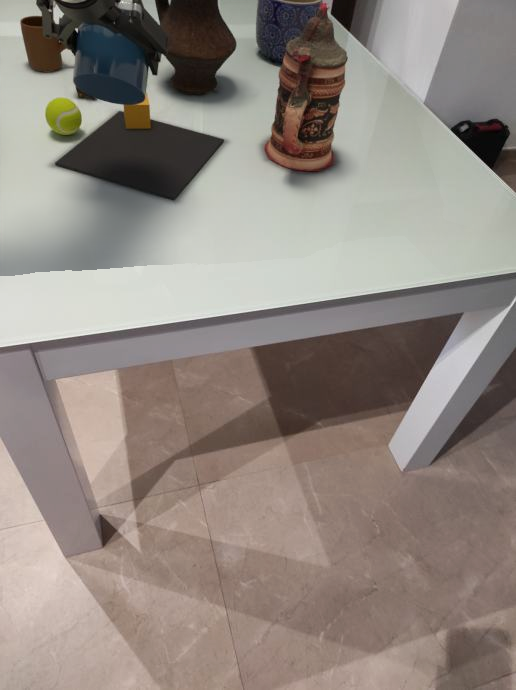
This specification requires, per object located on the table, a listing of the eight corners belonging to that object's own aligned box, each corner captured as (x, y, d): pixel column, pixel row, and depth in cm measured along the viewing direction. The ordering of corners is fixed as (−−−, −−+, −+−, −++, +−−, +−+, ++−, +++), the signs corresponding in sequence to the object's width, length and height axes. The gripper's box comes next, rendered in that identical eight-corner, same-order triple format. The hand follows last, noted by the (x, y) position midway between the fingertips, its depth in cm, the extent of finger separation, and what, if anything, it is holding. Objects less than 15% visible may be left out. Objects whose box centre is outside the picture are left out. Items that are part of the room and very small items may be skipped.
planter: (321, 54, 144) (332, -7, 133) (299, 73, 134) (309, 8, 122) (268, 39, 147) (274, -22, 136) (242, 57, 137) (247, -8, 126)
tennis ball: (78, 122, 105) (73, 89, 100) (88, 138, 102) (83, 104, 97) (45, 127, 103) (37, 93, 98) (54, 143, 99) (47, 109, 94)
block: (126, 129, 105) (123, 104, 101) (124, 117, 108) (122, 93, 104) (150, 128, 106) (149, 104, 102) (148, 117, 109) (147, 93, 105)
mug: (83, 61, 125) (76, 17, 118) (81, 74, 120) (75, 29, 113) (31, 58, 123) (21, 14, 116) (27, 72, 118) (17, 26, 111)
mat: (55, 165, 95) (54, 162, 94) (119, 113, 110) (119, 110, 110) (174, 200, 91) (174, 197, 91) (223, 141, 107) (223, 139, 106)
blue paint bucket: (58, 72, 76) (63, 15, 76) (96, 103, 87) (101, 54, 86) (125, 74, 74) (131, 16, 73) (156, 106, 85) (162, 55, 84)
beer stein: (303, 141, 115) (235, 150, 106) (328, -8, 97) (249, -12, 88) (352, 170, 105) (282, 183, 96) (391, 10, 87) (309, 7, 78)
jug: (249, 86, 125) (262, -68, 103) (202, 110, 115) (205, -56, 92) (182, 60, 132) (181, -91, 109) (131, 80, 121) (118, -82, 98)
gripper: (-27, -8, 62) (45, 75, 84) (167, 20, 62) (188, 95, 84) (-21, -73, 61) (50, 27, 83) (174, -44, 62) (194, 48, 84)
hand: (120, 61), depth 84 cm, fingers closed on blue paint bucket, 11 cm apart
